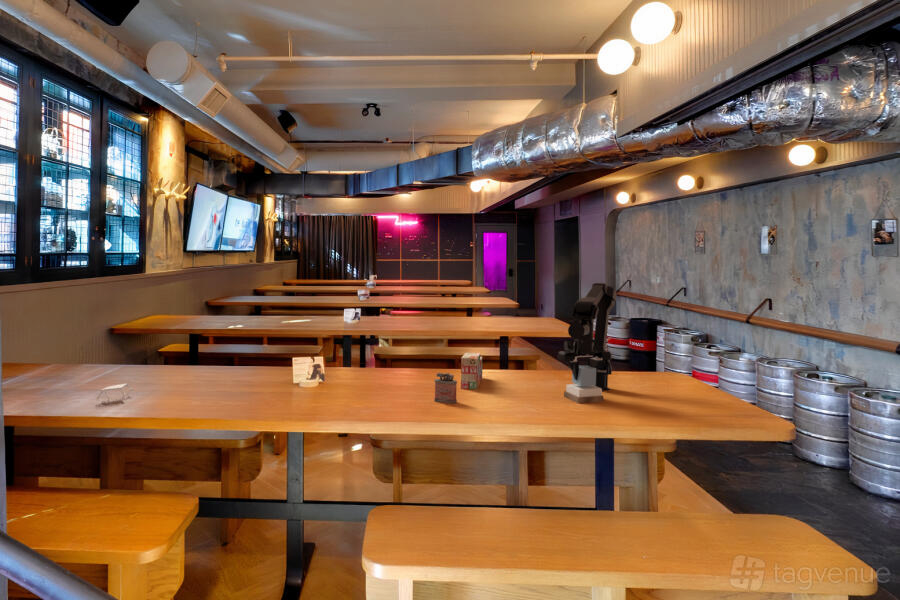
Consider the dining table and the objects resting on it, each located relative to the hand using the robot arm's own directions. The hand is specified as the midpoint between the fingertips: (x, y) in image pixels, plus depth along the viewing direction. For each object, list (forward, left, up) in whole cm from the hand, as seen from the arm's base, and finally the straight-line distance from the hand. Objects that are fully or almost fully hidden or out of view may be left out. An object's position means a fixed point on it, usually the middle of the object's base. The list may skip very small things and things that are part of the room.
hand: (583, 379), depth 191 cm
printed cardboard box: (+31, -34, -7) cm, 46 cm away
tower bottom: (0, 0, -8) cm, 8 cm away
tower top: (0, 0, -5) cm, 5 cm away
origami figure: (+157, -37, -7) cm, 162 cm away
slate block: (0, 0, -2) cm, 2 cm away
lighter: (+49, -8, -7) cm, 50 cm away
